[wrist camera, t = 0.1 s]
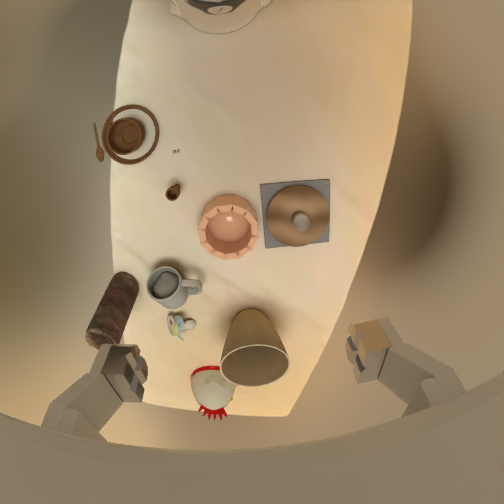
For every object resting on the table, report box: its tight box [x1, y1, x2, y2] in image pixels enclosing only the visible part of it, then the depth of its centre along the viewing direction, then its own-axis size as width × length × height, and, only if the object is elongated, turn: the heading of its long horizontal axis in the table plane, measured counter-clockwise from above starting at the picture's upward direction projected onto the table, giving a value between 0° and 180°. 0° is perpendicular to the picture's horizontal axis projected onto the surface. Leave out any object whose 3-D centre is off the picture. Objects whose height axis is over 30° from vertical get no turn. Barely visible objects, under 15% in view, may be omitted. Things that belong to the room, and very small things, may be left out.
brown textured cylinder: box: [86, 272, 139, 350], centre depth 57 cm, size 8×7×20 cm
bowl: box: [198, 195, 259, 259], centre depth 57 cm, size 11×11×6 cm
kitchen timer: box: [191, 366, 236, 420], centre depth 77 cm, size 14×14×15 cm
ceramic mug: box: [147, 266, 202, 309], centre depth 60 cm, size 11×8×8 cm
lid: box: [266, 185, 330, 247], centre depth 57 cm, size 13×13×5 cm
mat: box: [260, 179, 330, 248], centre depth 59 cm, size 14×14×1 cm
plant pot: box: [220, 309, 290, 387], centre depth 65 cm, size 15×15×16 cm
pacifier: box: [167, 315, 196, 341], centre depth 70 cm, size 7×6×6 cm
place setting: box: [94, 105, 180, 201], centre depth 49 cm, size 18×20×6 cm
